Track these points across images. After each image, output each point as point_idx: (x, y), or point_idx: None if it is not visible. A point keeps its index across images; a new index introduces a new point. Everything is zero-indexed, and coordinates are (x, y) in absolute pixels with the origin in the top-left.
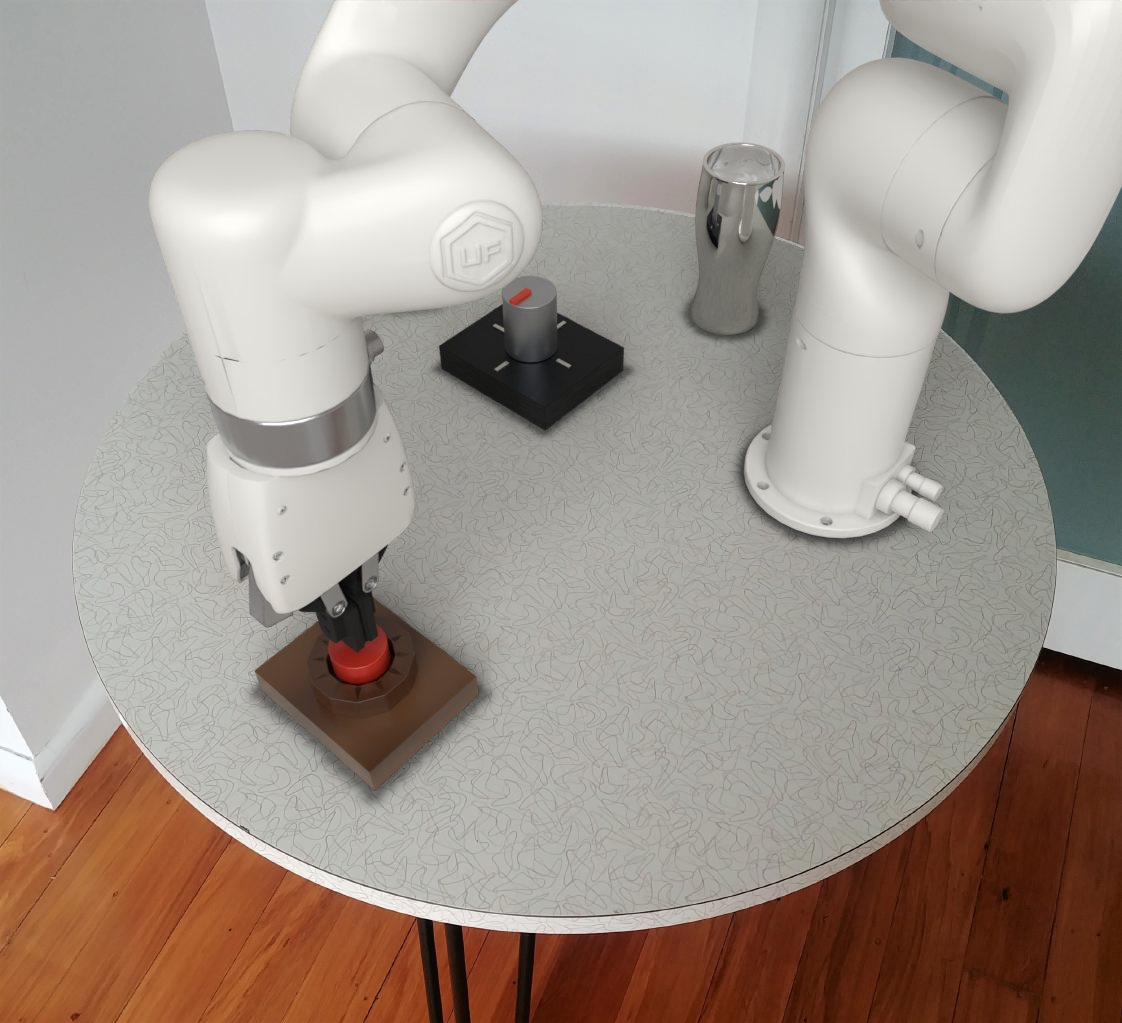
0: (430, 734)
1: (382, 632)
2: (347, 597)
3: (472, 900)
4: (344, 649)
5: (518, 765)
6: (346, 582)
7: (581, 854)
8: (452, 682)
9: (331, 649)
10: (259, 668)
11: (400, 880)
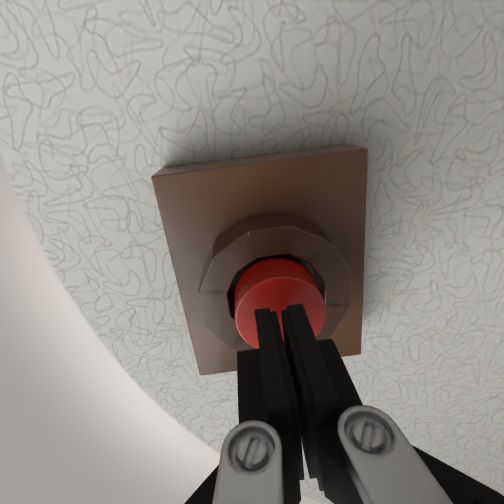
0: None
1: (321, 323)
2: (306, 443)
3: (213, 446)
4: None
5: None
6: (327, 485)
7: None
8: (336, 346)
9: (244, 302)
10: (159, 178)
11: (176, 413)
